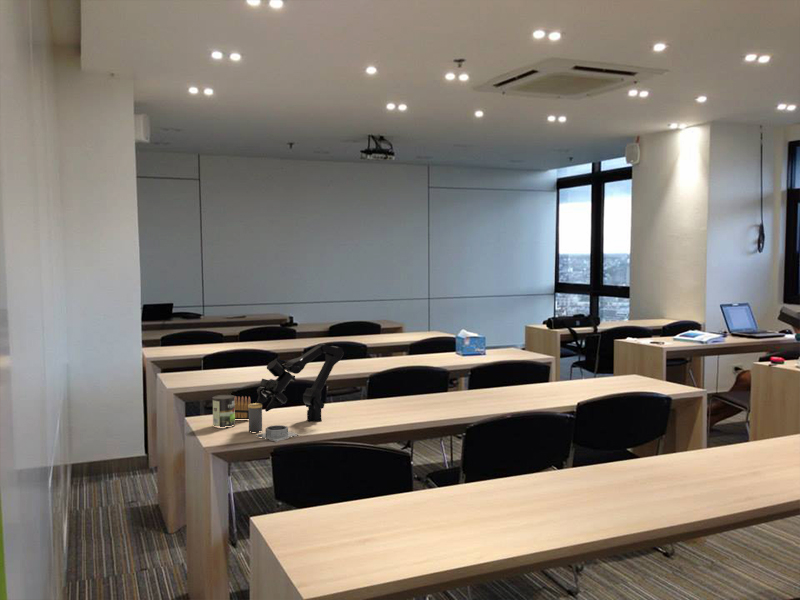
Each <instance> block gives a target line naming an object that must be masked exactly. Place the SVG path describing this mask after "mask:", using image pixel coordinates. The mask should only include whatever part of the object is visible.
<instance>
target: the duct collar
mask: <svg viewBox="0 0 800 600" xmlns="http://www.w3.org/2000/svg"><path fill="white" fill-rule="evenodd" d="M295 435H298V433H296V432H291V431H289V427H288V425H279V424H278V425H277V424H276V425H270V426H266V427H265V432H263V433H258V434H257V435H255V437H256V436H257V437H262V438H266V439H269V440H268V441H272V442H275V443H277V442H281V441H284V440H287V439H290V438H289V437H291V436H294V437H296V436H295ZM298 436H299V435H298ZM257 437H256V438H257ZM262 438H261V439H262ZM291 438H292V437H291ZM266 439H265V440H266Z"/></svg>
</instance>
